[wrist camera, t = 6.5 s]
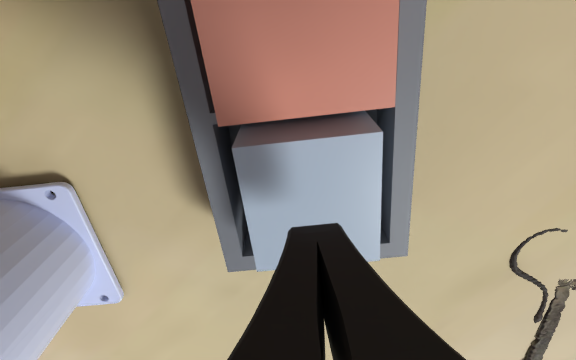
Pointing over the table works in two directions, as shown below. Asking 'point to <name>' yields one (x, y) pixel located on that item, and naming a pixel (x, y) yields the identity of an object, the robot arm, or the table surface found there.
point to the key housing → (219, 140)
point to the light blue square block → (310, 180)
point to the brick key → (297, 57)
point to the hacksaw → (553, 312)
